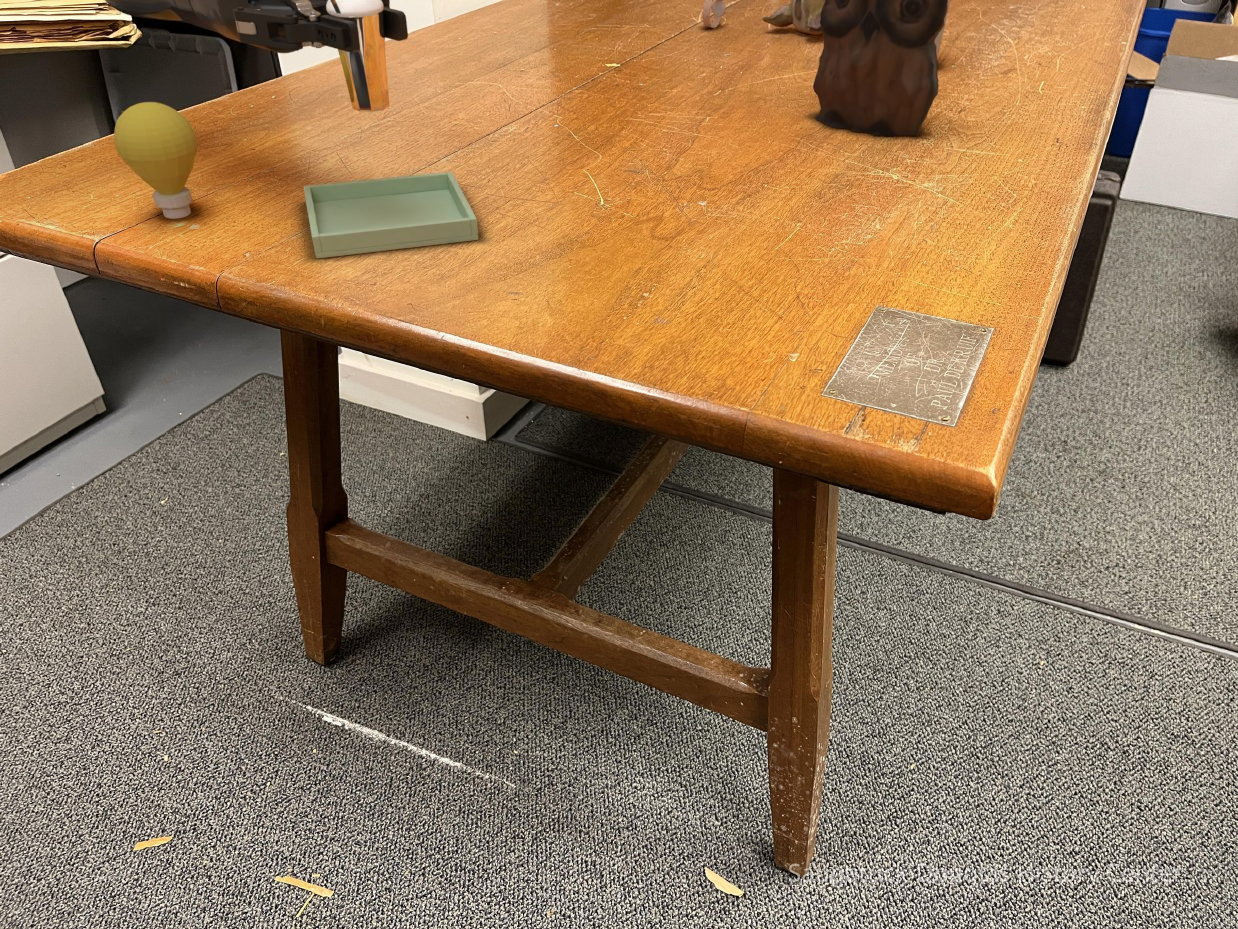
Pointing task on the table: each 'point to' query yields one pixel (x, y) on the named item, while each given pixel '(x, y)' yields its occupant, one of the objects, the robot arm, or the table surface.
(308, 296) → the table surface
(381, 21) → the milkshake
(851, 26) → the owl
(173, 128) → the light bulb
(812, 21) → the ceramic sculpture
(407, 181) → the tray
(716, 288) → the table surface
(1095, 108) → the table surface
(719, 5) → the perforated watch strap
